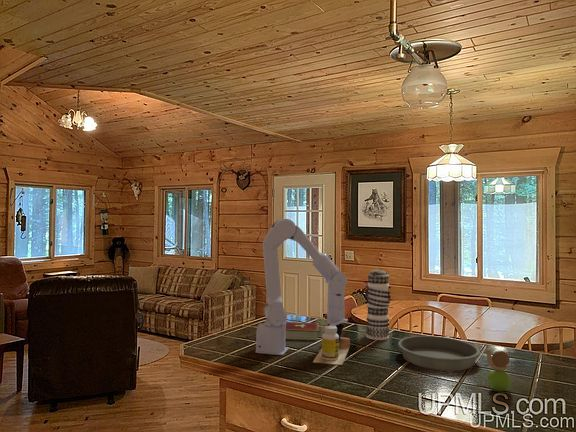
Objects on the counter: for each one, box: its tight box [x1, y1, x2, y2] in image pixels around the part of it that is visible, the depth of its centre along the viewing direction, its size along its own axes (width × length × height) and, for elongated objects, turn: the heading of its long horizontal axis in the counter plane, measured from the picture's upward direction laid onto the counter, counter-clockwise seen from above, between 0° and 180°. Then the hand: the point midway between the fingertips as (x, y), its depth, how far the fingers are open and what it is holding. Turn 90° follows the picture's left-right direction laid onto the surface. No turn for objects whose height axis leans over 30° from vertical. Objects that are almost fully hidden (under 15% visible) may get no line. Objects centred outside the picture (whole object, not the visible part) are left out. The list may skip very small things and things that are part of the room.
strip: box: [312, 337, 351, 366], centre depth 142 cm, size 9×20×3 cm, turn 165°
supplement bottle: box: [321, 325, 339, 360], centre depth 137 cm, size 5×5×10 cm
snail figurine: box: [484, 343, 512, 393], centre depth 113 cm, size 5×6×12 cm
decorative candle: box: [365, 269, 392, 341], centre depth 164 cm, size 9×9×25 cm
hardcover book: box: [285, 321, 319, 341], centre depth 165 cm, size 12×21×4 cm, turn 86°
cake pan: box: [397, 335, 481, 372], centre depth 138 cm, size 25×25×4 cm
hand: (335, 345), depth 148 cm, fingers closed
